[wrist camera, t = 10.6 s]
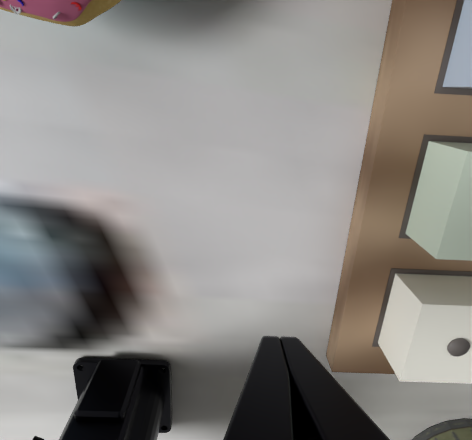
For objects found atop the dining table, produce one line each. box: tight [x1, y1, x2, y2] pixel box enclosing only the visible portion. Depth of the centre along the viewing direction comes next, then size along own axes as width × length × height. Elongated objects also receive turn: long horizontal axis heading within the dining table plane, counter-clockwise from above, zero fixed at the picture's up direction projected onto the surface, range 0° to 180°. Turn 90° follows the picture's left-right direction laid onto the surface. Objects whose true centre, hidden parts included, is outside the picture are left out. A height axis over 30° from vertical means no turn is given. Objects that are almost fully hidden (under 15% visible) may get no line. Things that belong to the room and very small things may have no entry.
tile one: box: [378, 273, 472, 384], centre depth 19 cm, size 5×5×3 cm
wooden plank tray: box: [326, 0, 472, 374], centre depth 19 cm, size 25×10×2 cm, turn 177°
